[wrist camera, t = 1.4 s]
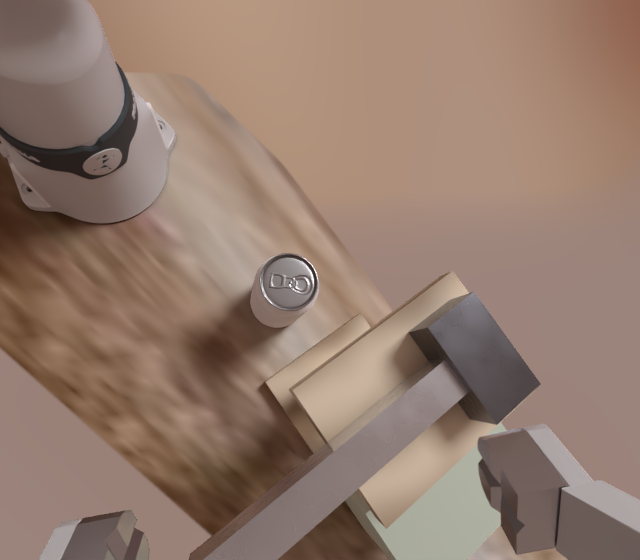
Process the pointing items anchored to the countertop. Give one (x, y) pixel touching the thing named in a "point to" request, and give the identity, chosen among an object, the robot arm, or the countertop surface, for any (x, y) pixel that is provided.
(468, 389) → the hammer
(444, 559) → the pale green box
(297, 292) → the can
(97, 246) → the countertop surface
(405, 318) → the stand
